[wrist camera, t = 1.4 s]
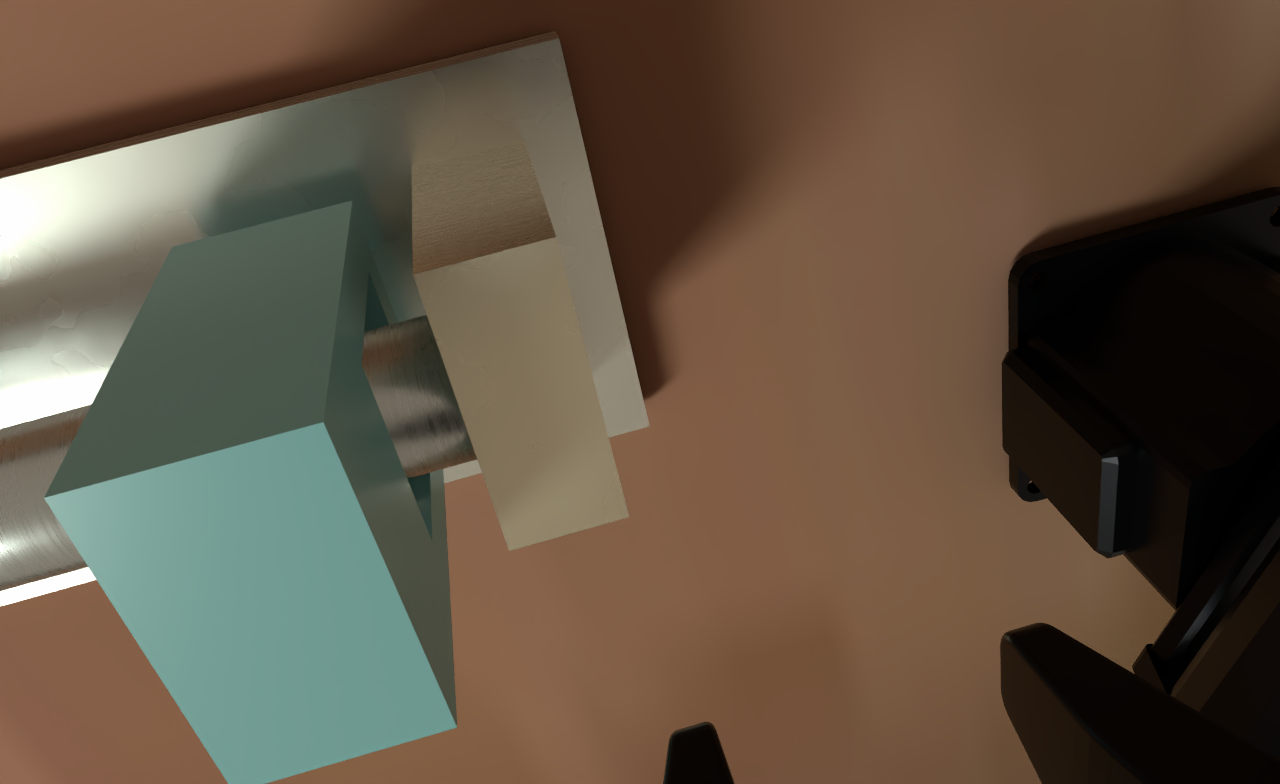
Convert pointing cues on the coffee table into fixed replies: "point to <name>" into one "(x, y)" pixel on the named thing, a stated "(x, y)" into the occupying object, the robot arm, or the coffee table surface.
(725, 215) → the coffee table surface
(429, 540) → the collar
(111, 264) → the pipe rig
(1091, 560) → the coffee table surface
